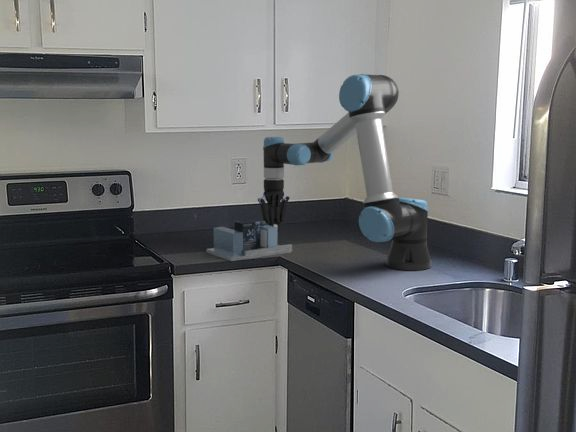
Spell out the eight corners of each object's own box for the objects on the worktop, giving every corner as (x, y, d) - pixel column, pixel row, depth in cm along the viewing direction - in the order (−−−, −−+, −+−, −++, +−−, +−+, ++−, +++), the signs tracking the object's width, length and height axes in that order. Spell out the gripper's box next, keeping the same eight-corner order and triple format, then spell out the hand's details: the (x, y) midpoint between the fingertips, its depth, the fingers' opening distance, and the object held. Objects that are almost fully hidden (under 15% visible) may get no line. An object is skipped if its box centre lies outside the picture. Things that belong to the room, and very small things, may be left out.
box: (242, 252, 268) (242, 223, 267) (234, 249, 273) (233, 220, 271) (260, 249, 273) (260, 221, 271) (252, 246, 278) (252, 218, 276)
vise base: (292, 252, 274) (292, 227, 272) (231, 261, 259) (231, 235, 258) (265, 244, 288) (265, 220, 287) (206, 252, 274) (206, 227, 272)
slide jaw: (277, 249, 272) (277, 223, 271) (267, 250, 270) (267, 224, 268) (256, 242, 284) (256, 218, 282) (246, 244, 281) (246, 219, 280)
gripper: (282, 176, 282) (282, 237, 286) (253, 178, 275) (253, 241, 279) (293, 178, 276) (293, 241, 280) (264, 180, 269) (264, 244, 273)
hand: (273, 241), depth 280 cm, fingers closed
